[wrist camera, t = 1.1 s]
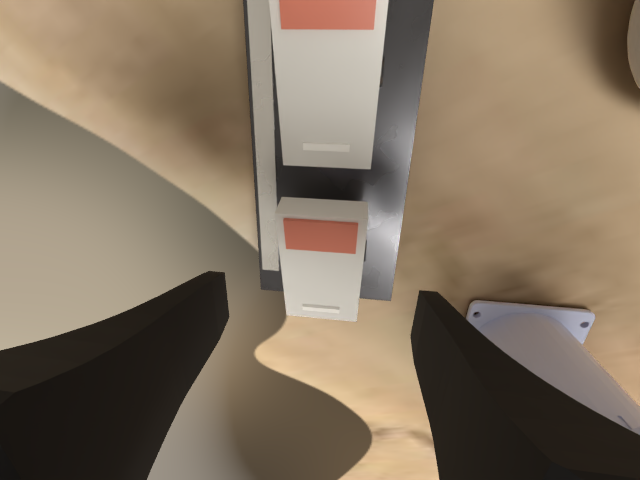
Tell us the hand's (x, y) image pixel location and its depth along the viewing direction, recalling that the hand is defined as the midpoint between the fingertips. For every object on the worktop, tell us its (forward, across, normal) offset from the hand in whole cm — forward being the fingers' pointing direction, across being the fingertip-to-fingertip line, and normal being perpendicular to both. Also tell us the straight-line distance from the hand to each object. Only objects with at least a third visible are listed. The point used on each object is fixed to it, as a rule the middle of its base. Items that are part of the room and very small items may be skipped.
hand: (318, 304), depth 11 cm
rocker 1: (+6, 0, -8) cm, 10 cm away
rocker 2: (+6, 0, 0) cm, 6 cm away
